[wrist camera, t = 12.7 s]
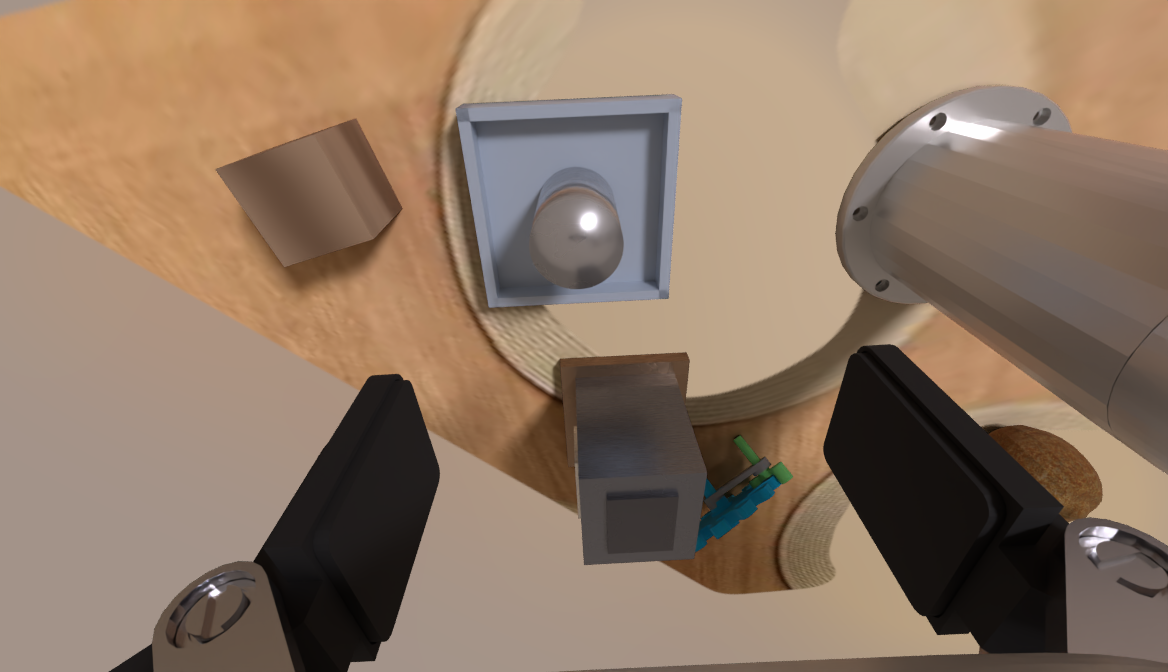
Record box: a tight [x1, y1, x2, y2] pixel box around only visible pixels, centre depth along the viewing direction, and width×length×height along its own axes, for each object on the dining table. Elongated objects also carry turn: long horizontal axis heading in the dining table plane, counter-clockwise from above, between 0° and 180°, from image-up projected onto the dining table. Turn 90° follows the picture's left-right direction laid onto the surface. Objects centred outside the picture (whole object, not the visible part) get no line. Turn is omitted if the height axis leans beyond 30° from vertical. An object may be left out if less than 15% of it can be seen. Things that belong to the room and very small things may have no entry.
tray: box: [456, 94, 682, 308], centre depth 26 cm, size 11×11×2 cm
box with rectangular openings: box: [560, 352, 707, 565], centre depth 32 cm, size 9×10×10 cm
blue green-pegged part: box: [695, 435, 793, 552], centre depth 38 cm, size 11×6×10 cm
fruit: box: [989, 425, 1102, 522], centre depth 36 cm, size 6×6×8 cm
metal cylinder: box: [529, 167, 624, 289], centre depth 24 cm, size 4×4×6 cm
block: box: [215, 119, 402, 267], centre depth 24 cm, size 5×5×5 cm
